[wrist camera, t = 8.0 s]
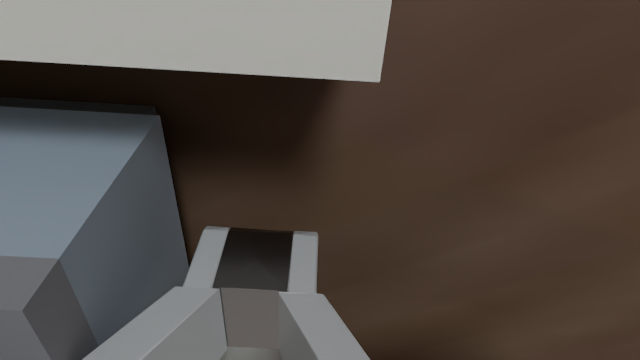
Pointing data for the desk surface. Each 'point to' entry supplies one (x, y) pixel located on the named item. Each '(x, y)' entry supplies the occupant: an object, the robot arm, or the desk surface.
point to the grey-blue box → (82, 224)
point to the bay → (204, 43)
